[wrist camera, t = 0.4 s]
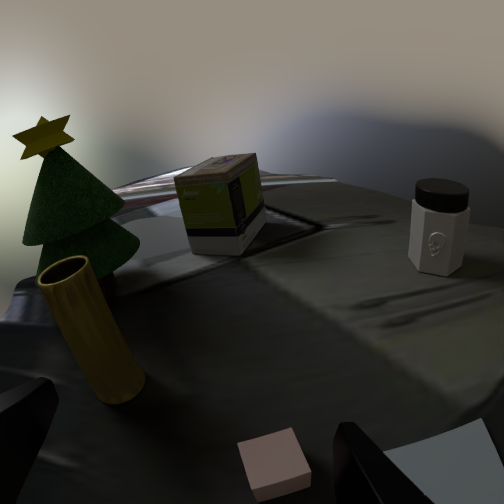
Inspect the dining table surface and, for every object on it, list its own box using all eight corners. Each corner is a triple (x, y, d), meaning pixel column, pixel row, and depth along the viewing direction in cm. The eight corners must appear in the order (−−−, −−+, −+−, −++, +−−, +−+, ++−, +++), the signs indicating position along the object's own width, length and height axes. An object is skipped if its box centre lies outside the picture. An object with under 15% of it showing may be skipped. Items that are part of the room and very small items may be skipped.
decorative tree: (167, 291, 45) (117, 84, 32) (53, 343, 36) (-25, 132, 22) (133, 253, 60) (97, 105, 46) (49, 289, 50) (0, 139, 37)
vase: (153, 366, 31) (105, 250, 25) (134, 410, 26) (67, 288, 19) (109, 362, 32) (58, 255, 26) (87, 400, 27) (20, 288, 20)
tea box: (223, 222, 68) (212, 155, 61) (268, 222, 64) (258, 151, 57) (189, 255, 55) (171, 174, 49) (241, 257, 52) (226, 169, 45)
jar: (403, 270, 41) (409, 189, 36) (411, 246, 47) (415, 175, 41) (460, 281, 36) (474, 198, 31) (461, 254, 42) (470, 182, 36)
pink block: (310, 486, 18) (311, 471, 16) (258, 502, 17) (251, 489, 15) (293, 447, 21) (291, 427, 20) (244, 461, 20) (237, 443, 19)
